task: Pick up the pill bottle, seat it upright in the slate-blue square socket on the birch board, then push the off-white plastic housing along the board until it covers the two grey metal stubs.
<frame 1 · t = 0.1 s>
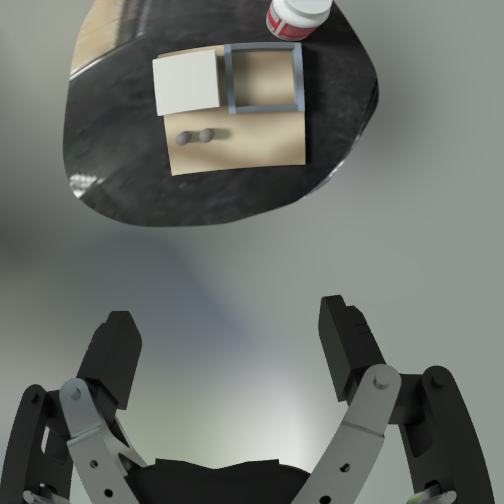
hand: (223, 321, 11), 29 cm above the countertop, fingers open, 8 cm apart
housing: (188, 83, 27), point 4 cm above the countertop, slide at 0.0 cm
pill bottle: (288, 23, 26), on the countertop
base board: (233, 105, 32), on the countertop
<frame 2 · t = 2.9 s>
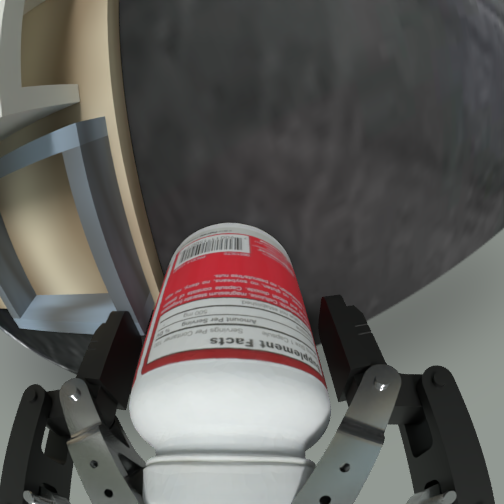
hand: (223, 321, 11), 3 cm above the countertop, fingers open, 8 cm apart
pill bottle: (231, 271, 14), on the countertop
base board: (5, 168, 10), on the countertop
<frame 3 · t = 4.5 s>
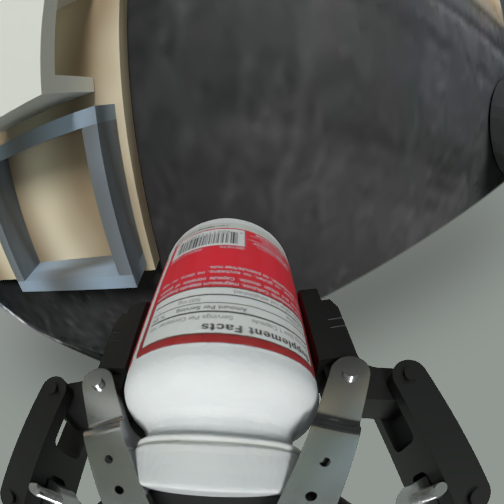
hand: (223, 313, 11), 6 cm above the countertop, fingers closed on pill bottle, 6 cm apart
housing: (15, 54, 6), point 3 cm above the countertop, slide at 0.0 cm
pill bottle: (228, 266, 14), point 2 cm above the countertop, touching gripper
base board: (20, 148, 11), on the countertop
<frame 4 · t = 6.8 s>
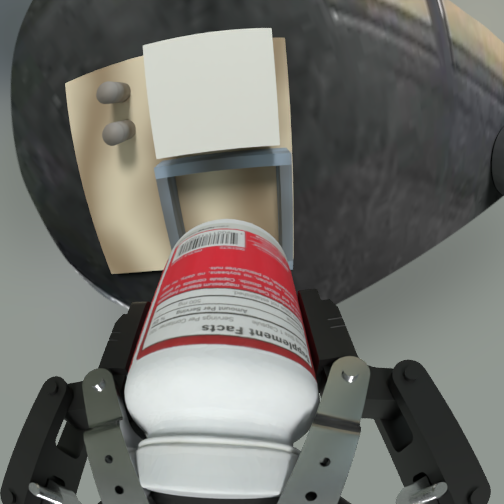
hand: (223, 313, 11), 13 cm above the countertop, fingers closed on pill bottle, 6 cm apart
housing: (213, 91, 14), point 4 cm above the countertop, slide at 0.0 cm
pill bottle: (228, 267, 14), point 9 cm above the countertop, touching gripper
base board: (179, 162, 20), on the countertop
when the fingers open (5 cm above the countertop, at t = 9.1 s): pill bottle stays where it is, resting on base board.
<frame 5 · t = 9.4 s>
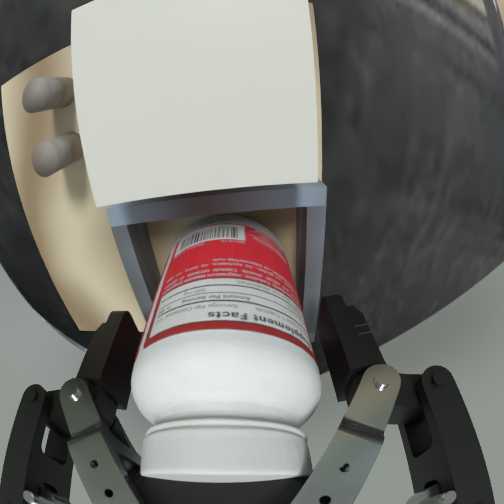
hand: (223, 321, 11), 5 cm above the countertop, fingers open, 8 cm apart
housing: (196, 80, 8), point 4 cm above the countertop, slide at 0.0 cm
pill bottle: (227, 262, 15), point 1 cm above the countertop, touching base board
base board: (151, 192, 13), on the countertop
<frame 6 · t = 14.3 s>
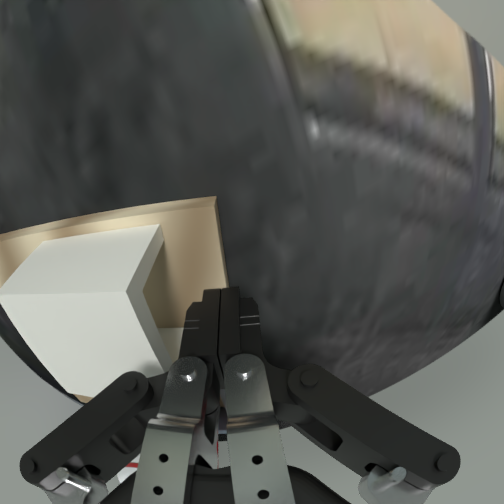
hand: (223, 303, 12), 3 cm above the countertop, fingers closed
housing: (101, 322, 11), point 3 cm above the countertop, slide at 0.9 cm, touching gripper
base board: (115, 338, 17), on the countertop
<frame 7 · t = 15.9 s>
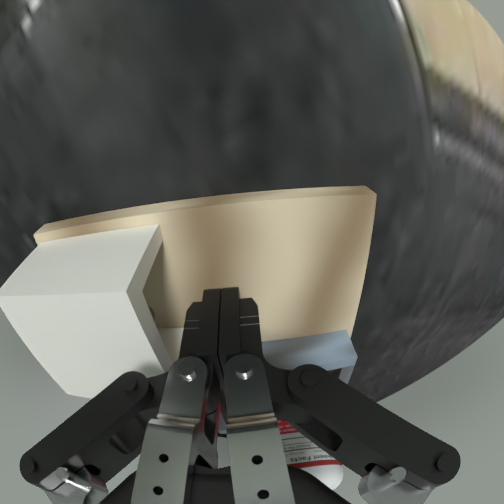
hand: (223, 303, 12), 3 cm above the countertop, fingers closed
housing: (100, 323, 11), point 4 cm above the countertop, slide at 8.1 cm, touching gripper
pill bottle: (274, 378, 18), point 1 cm above the countertop, touching base board
base board: (214, 336, 17), on the countertop
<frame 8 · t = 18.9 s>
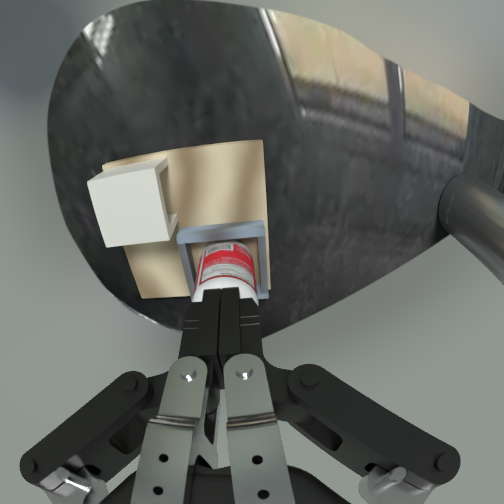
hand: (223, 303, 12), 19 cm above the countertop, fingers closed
housing: (134, 201, 25), point 3 cm above the countertop, slide at 8.0 cm
pill bottle: (226, 258, 32), point 1 cm above the countertop, touching base board
base board: (191, 226, 31), on the countertop
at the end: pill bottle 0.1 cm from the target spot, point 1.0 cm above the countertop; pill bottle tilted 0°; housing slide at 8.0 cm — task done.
